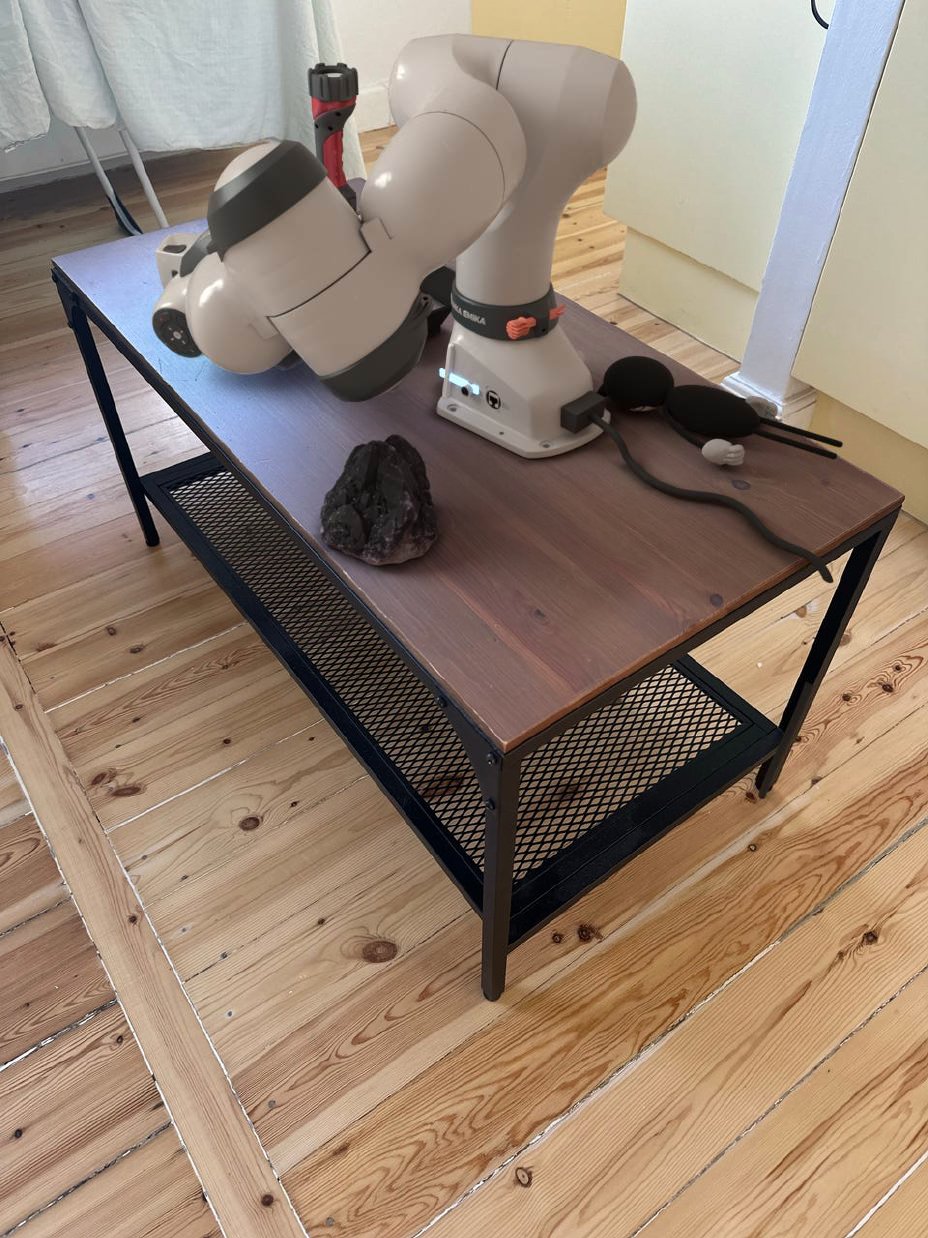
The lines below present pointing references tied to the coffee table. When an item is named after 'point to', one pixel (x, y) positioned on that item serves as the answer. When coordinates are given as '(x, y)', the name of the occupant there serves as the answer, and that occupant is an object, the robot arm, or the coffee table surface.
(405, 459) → the crystal cluster
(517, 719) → the coffee table surface
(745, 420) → the toy
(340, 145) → the flashlight
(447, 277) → the smartphone
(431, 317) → the handheld gaming console
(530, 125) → the robot arm
